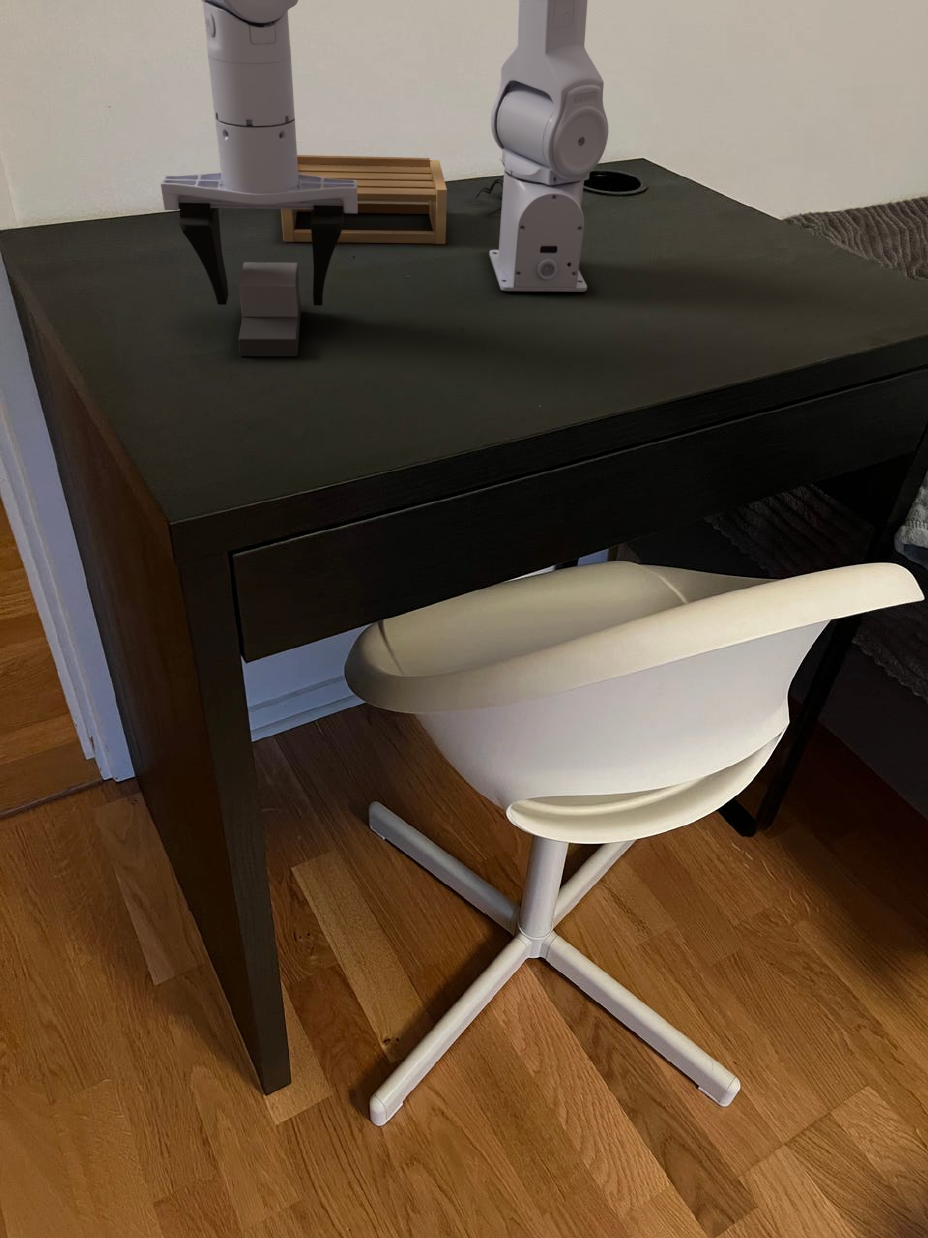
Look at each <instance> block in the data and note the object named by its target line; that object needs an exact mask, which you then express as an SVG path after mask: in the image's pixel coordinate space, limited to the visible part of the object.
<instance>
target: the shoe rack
mask: <svg viewBox="0 0 928 1238" xmlns="http://www.w3.org/2000/svg"><path fill="white" fill-rule="evenodd" d="M297 162H298V174H303V175H311V176H318V177H326V178H334V179H345V180H357V202H358V213H357V214H400V215H402V214H403V215H429V221H430V225H431V229H432V230H380V229H379V230H377V229H374V230H372V229H370V230H369V229H363V230H362V229H342V232H341V235H340V237H339V239H338V241H337V243H356V244H357V243H359V244H360V243H363V244H367V243H368V244H435V245H446V241H447V240H446V238H447V236H446V235H447V210H448V209H447V207H448V187H447V184H446V181H445V177H444V173H443V169H442V167H441V163H440V160H438V159H430V157H403V156H402V157H401V156H400V157H399V156H361V155H360V156H358V155H354V156H353V155H314V154H297ZM365 200H366V201H365ZM367 200H368V201H367ZM373 200H374V201H373ZM376 200H378V201H376ZM380 200H381V201H380ZM421 201H422V202H421ZM423 201H424V202H423ZM426 201H427V202H426ZM297 213H312V210H297V209H280V214H281V227H282V228H281V229H282V239H283V242H284V243H294V242H295V243H312V234H311V228H310V229H306V228H305V229H303V228H301V229H300V228H299V229H298V228H296V225H297V215H298V214H297Z"/></svg>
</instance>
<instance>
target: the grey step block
mask: <svg viewBox="0 0 928 1238" xmlns="http://www.w3.org/2000/svg"><path fill="white" fill-rule="evenodd" d="M299 276H300V275H299V263H298V262H271V261H270V262H268V261H267V262H266V261H265V262H263V261H262V262H261V261H260V262H256V261H254V262H253V261H243V264H242V268H241V273H240V278H239V282H238V291H239V300H240V310H241V323H240V328H239V333H238V338H237V341H238V350H239V356H240V357H297V356H298V351H299V337H300V327H301V326H300V325H301V313H302V308H301V294H300V293H301V291H300V278H299Z"/></svg>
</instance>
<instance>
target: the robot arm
mask: <svg viewBox="0 0 928 1238" xmlns="http://www.w3.org/2000/svg"><path fill="white" fill-rule="evenodd" d="M201 2H202V7H203V16H204V17H203V18H204V25H205V34H206V51H207V60H208V69H209V77H210V87H211V95H212V96H211V97H212V105H213V112H214V114H213V115H214V122H215V131H216V141H217V148H218V157H219V167H220V172H213V173H212V172H211V173H200V174H188V175H187V174H185V175H184V174H183V175H164V176H163V178H162V180H161V182H160V189H161V195H162V203H163V208H164V211H179V219H178V225H179V227H180V229H181V232H182V234H183V235H184V236H185V237H186V239H187V241H188V242H189V244H190V245H191V246H192V249H193V251H195V253H196V255H197V256H198V258H199V260H200V262H201V264H202V266H203V268H204V270H205V272H206V275H207V276H208V279H209V282H210V284H211V287H212V289H213V292H214V296H215V301H216V304H217V305H219V306H226V305H227V302H228V299H229V287H228V285H229V284H228V279H227V278H228V277H227V273H226V267H225V261H224V256H223V248H222V238H221V226H220V209H248V210H249V209H251V210H252V209H253V210H256V209H257V210H281V209H297V210H312V212H311V214H310V217H311V218H310V230H311V234H312V242H311V244H312V245H311V246H312V260H313V263H312V264H313V283H312V302H313V306H323V299H324V296H323V294H324V287H325V282H326V276H327V273H328V269H329V266H330V262H331V259H332V256H333V253H334V252H335V248H336V246H337V244H338V242H337V241H338V239H339V237H340V235H341V232H342V230H344V225H345V223H344V222H345V221H344V217H345V215H344V214H359V213H358V202H357V201H358V199H357V180H345V179H334V178H326V177H318V176H311V175H303V174H298V162H297V155H298V147H297V128H296V118H295V115H296V114H295V101H294V100H295V99H294V98H295V97H294V84H293V67H292V51H291V40H290V26H289V25H290V24H289V23H290V22H289V10H291V9H292V8H293V7H295V6H296V5H297V4H298V2H299V0H201ZM587 10H588V0H518V22H517V23H518V24H517V25H518V28H517V33H518V34H517V46H516V47H515V49H514V50H513V51H512V53H511V54H510V55H509V56H508V58H506V59H505V61H504V62H503V64H502V65H501V67H500V83H499V90H498V93H497V96H496V98H495V101H494V103H493V107H492V110H491V117H490V127H491V128H490V129H491V133H492V138H493V139H494V141H495V143H496V145H497V146H498V147H499V149H500V150H502V152H501V160H502V161H501V163H502V165H503V164H505V166H504V165H503V168H504V170H503V182H502V185H503V187H502V192H503V193H502V196H501V198H502V199H501V207H502V210H500V211H501V213H500V224H499V225H500V227H499V240H498V241H499V242H498V249H490V250H489V253H488V255H489V259H490V262H491V265H492V268H493V271H494V274H495V278H496V280H497V282H498V283H497V284H498V286H499V289H500V290H501V291H503V292H534V293H535V292H537V293H539V292H543V293H544V292H545V293H546V292H547V293H548V292H557V293H566V292H567V293H584V292H586V291H587V290H588V285H587V283H586V281H585V279H584V278H583V275H582V273H581V271H580V263H581V255H582V247H583V240H584V232H585V217H584V213H583V210H582V202H583V201H582V200H583V192H584V185H585V181H588V180H590V174H591V172H592V171H593V170H594V169H595V168H596V167H597V165H598V164H599V163H600V160H601V159H602V157H603V155H604V153H605V150H606V147H607V143H608V140H609V139H608V138H609V122H608V121H609V120H608V117H607V114H606V110H605V108H604V83H605V82H604V80H603V79H604V78H603V77H602V75H601V74H600V72H599V71H598V69H597V67H596V65H595V64H594V62H593V61H592V58H591V57H590V55H589V53H588V51H587V50H586V47H585V41H586V29H587V28H586V26H587V16H588V15H587V14H588V13H587V12H588V11H587Z"/></svg>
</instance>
